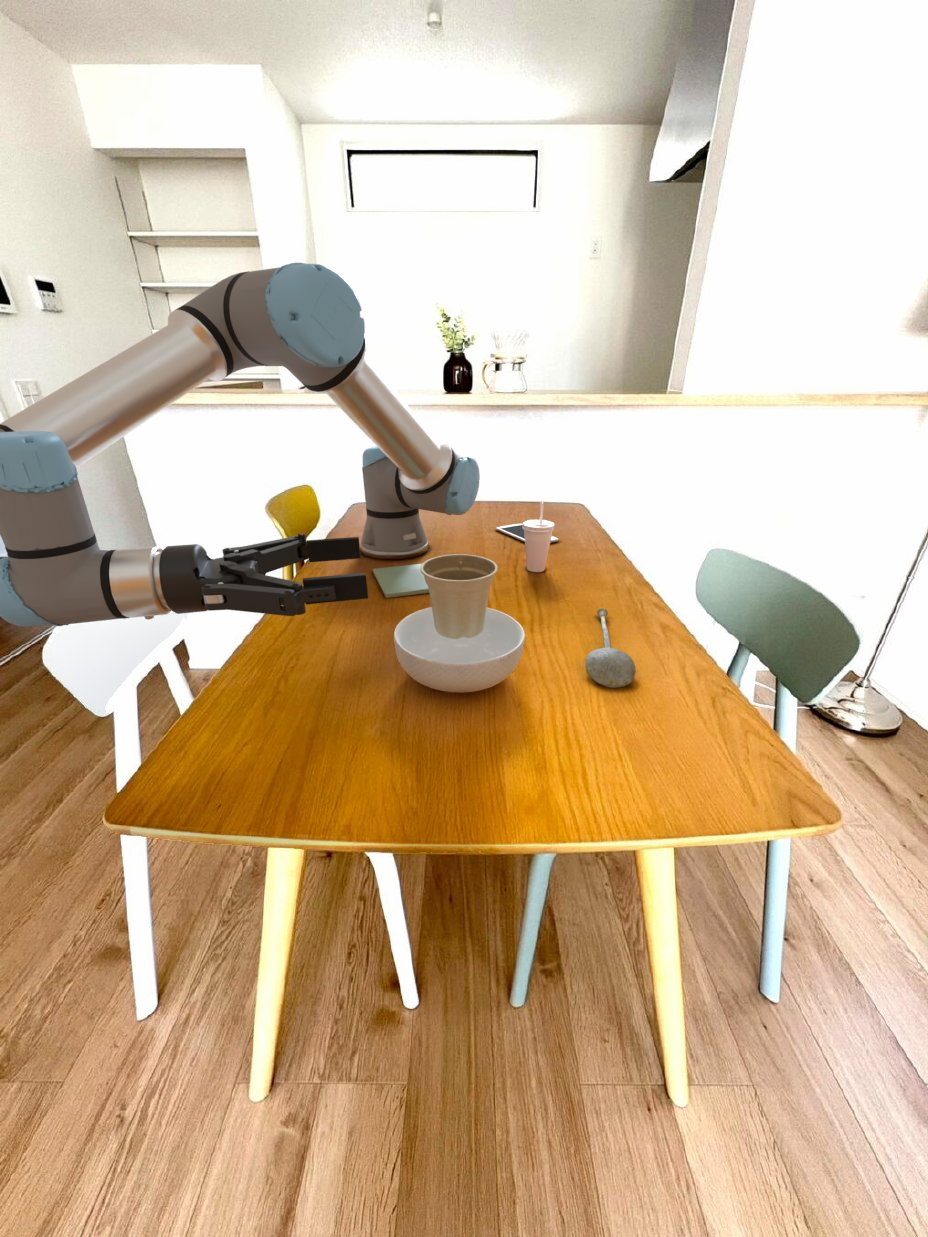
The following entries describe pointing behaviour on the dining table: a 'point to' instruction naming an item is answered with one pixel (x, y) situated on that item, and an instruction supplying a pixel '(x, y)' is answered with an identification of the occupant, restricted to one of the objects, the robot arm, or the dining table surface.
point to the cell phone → (517, 532)
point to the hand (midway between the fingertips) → (363, 564)
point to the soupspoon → (609, 661)
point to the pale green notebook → (401, 580)
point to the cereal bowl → (459, 652)
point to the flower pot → (459, 592)
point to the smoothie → (537, 542)
